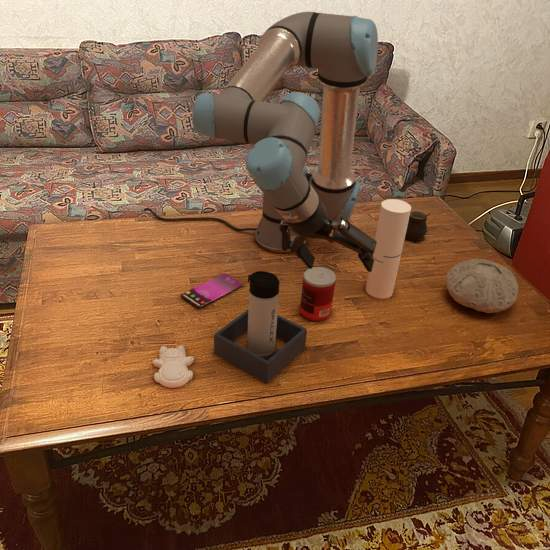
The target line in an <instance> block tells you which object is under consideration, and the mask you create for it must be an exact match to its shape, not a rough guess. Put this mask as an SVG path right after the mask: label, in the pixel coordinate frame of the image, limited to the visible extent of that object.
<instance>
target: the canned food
mask: <svg viewBox="0 0 550 550" xmlns="http://www.w3.org/2000/svg"><path fill="white" fill-rule="evenodd" d="M336 279H337V276H336V274H335V272H334V271H333V270H331V269H329V268H327V267H324V266H313V267H312V269H309V268H307V269H306V270H305V271H304V273H303V277H302V286H301V296H300V306H299V311H300V314H301V316H302V317H303V318H304V319H306V320H308V321H311V322H322V321H324V320H327V319H328V318H329V317H330V315H331V314H332V308H333V301H334V296H335V289H336V287H335V286H336Z"/></svg>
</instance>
